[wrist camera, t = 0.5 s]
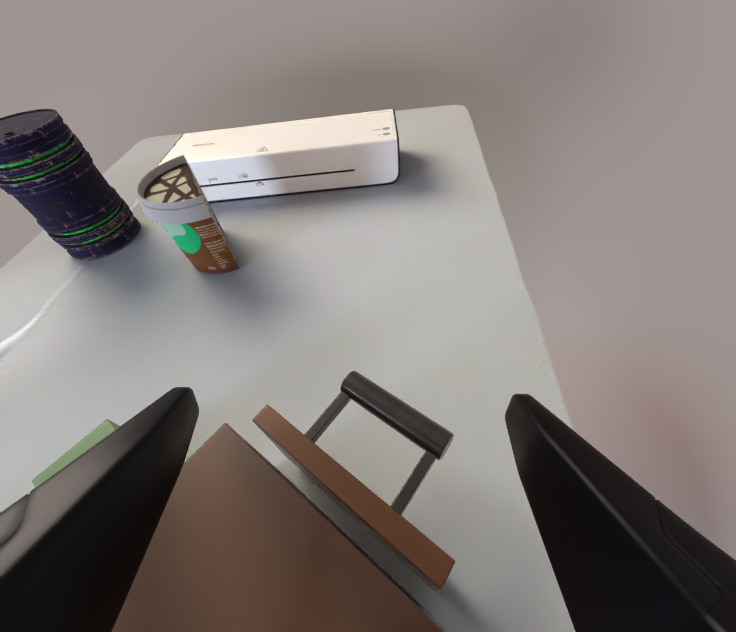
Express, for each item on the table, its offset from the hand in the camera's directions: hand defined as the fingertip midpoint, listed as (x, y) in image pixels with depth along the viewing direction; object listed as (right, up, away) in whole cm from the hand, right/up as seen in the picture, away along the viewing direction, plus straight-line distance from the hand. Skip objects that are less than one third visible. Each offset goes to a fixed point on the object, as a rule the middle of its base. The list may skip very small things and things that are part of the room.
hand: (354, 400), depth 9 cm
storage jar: (-37, +13, +39) cm, 55 cm away
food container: (-20, +10, +33) cm, 40 cm away
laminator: (-12, +25, +45) cm, 53 cm away
